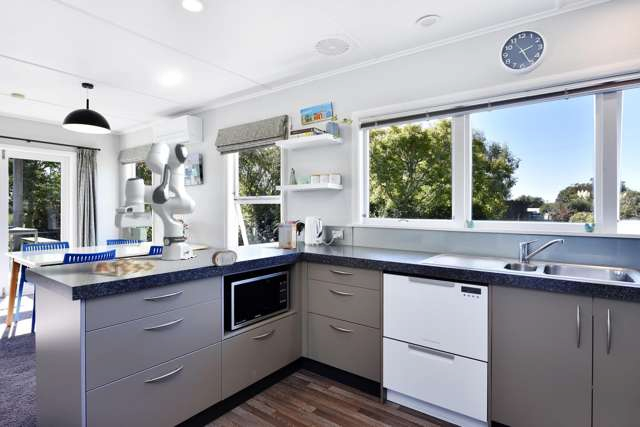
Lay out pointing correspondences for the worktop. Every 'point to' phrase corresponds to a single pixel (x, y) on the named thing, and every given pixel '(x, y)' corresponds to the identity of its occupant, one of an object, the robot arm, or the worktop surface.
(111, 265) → the track
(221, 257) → the tin
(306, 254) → the worktop surface
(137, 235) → the slider
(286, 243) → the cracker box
